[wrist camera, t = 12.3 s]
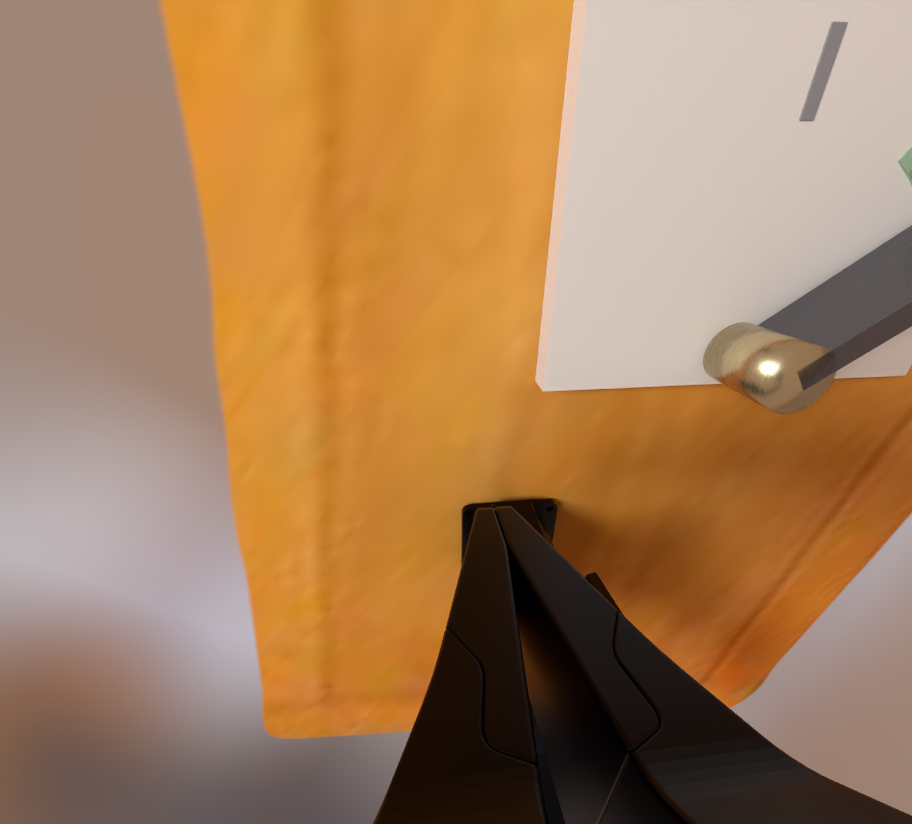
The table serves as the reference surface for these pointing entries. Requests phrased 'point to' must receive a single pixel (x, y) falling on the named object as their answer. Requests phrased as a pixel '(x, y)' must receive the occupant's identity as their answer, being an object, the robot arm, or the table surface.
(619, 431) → the table surface
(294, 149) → the table surface
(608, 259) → the dial board
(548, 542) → the robot arm
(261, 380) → the table surface
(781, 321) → the pointer
